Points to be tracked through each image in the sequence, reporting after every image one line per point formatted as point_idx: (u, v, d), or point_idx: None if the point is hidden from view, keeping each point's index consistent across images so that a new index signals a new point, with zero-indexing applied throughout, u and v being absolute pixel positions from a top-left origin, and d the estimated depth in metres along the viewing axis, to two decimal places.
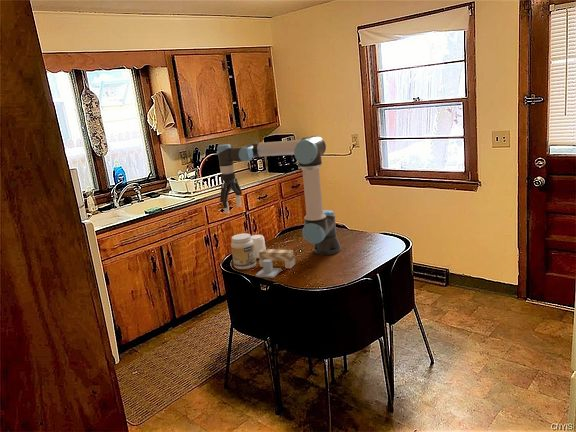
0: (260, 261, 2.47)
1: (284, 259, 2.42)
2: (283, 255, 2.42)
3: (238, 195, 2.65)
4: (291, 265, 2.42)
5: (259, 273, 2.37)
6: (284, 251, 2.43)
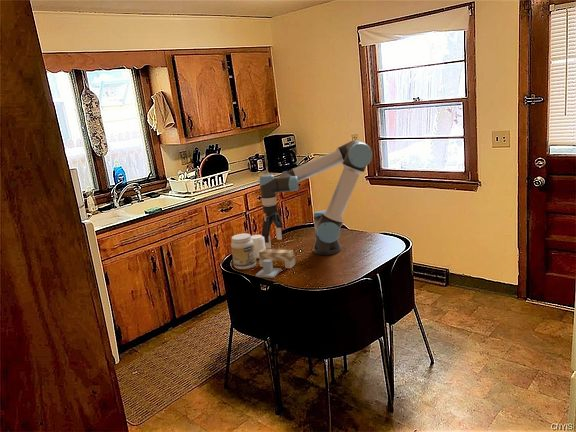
0: (260, 261, 2.47)
1: (284, 259, 2.42)
2: (283, 255, 2.42)
3: (279, 227, 2.48)
4: (291, 265, 2.42)
5: (259, 273, 2.37)
6: (284, 251, 2.43)
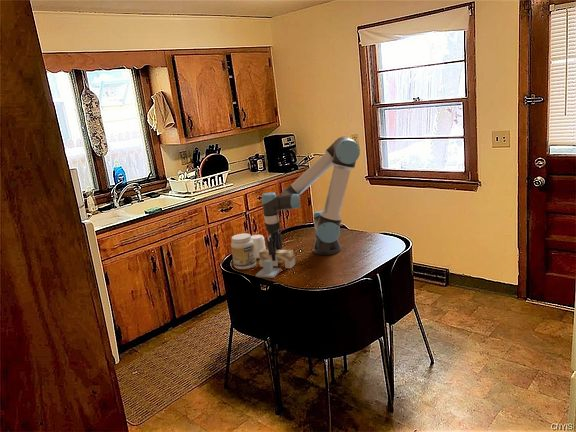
0: (260, 261, 2.47)
1: (284, 259, 2.42)
2: (283, 255, 2.42)
3: None
4: (291, 265, 2.42)
5: (259, 273, 2.37)
6: (284, 251, 2.43)
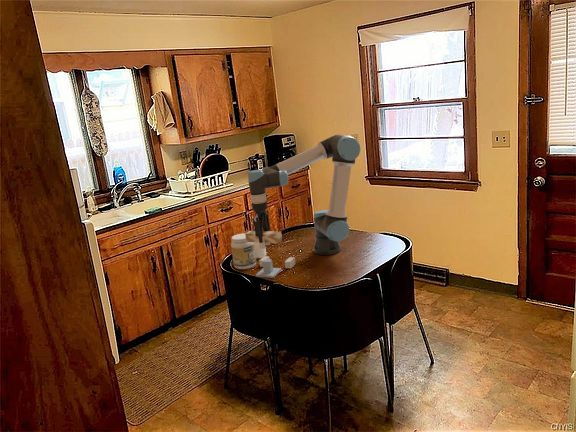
0: (260, 261, 2.47)
1: (271, 241, 2.29)
2: (270, 237, 2.28)
3: None
4: (291, 265, 2.42)
5: (259, 273, 2.37)
6: (272, 233, 2.29)
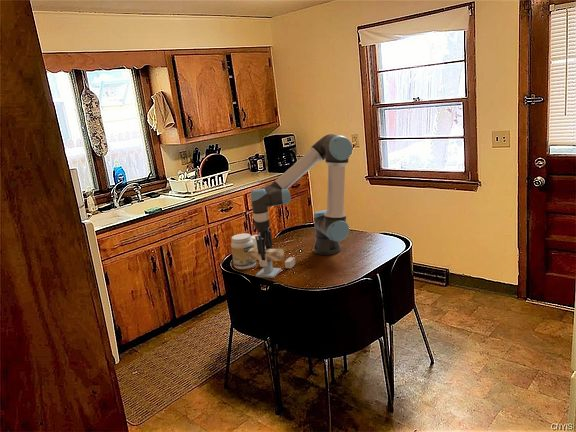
0: (260, 261, 2.47)
1: (274, 259, 2.31)
2: (273, 255, 2.31)
3: None
4: (291, 265, 2.42)
5: (259, 273, 2.37)
6: (274, 250, 2.32)
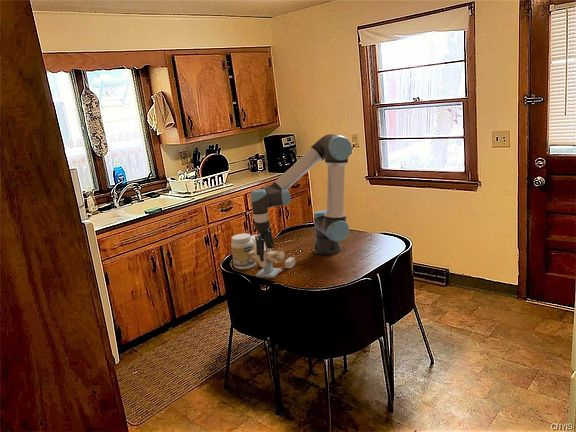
0: None
1: (274, 261, 2.32)
2: (273, 257, 2.31)
3: (270, 248, 2.38)
4: (291, 265, 2.42)
5: (259, 273, 2.37)
6: (275, 253, 2.32)
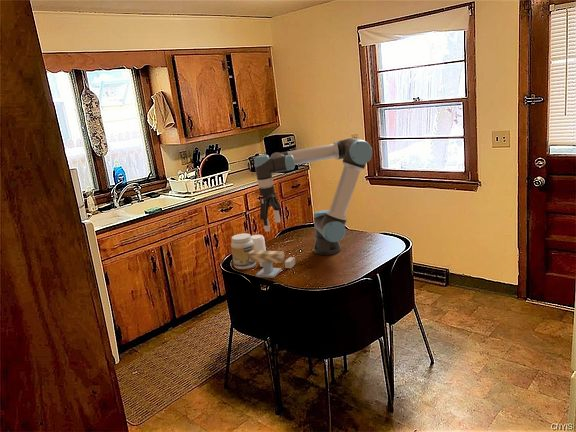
0: None
1: (274, 261, 2.32)
2: (273, 257, 2.31)
3: (277, 210, 2.41)
4: (291, 265, 2.42)
5: (259, 273, 2.37)
6: (275, 253, 2.32)
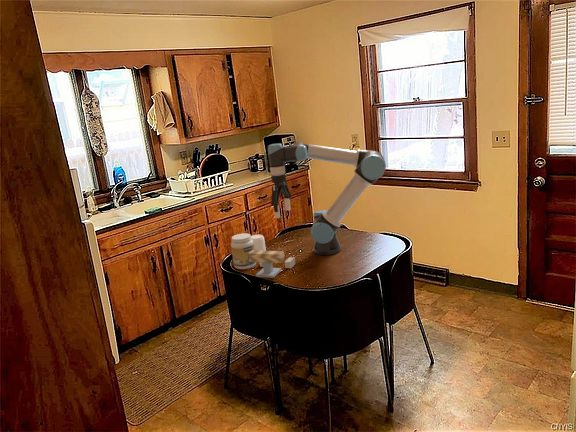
0: None
1: (274, 261, 2.32)
2: (273, 257, 2.31)
3: (287, 198, 2.48)
4: (291, 265, 2.42)
5: (259, 273, 2.37)
6: (275, 253, 2.32)
